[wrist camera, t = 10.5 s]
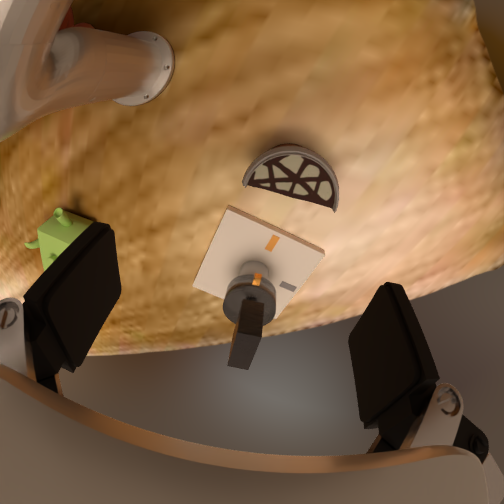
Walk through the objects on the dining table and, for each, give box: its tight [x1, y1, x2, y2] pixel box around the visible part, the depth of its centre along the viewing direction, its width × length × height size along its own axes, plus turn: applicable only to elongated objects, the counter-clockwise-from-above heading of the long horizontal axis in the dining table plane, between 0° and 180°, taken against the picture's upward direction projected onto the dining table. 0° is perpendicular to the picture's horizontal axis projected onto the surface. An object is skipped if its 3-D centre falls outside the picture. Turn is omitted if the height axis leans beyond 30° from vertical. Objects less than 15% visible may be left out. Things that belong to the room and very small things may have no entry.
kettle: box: [24, 208, 94, 271], centre depth 45 cm, size 15×14×11 cm
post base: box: [193, 205, 325, 319], centre depth 47 cm, size 18×18×7 cm
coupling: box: [223, 273, 276, 370], centre depth 38 cm, size 9×8×12 cm
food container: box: [242, 144, 339, 213], centre depth 34 cm, size 12×6×10 cm, turn 77°
